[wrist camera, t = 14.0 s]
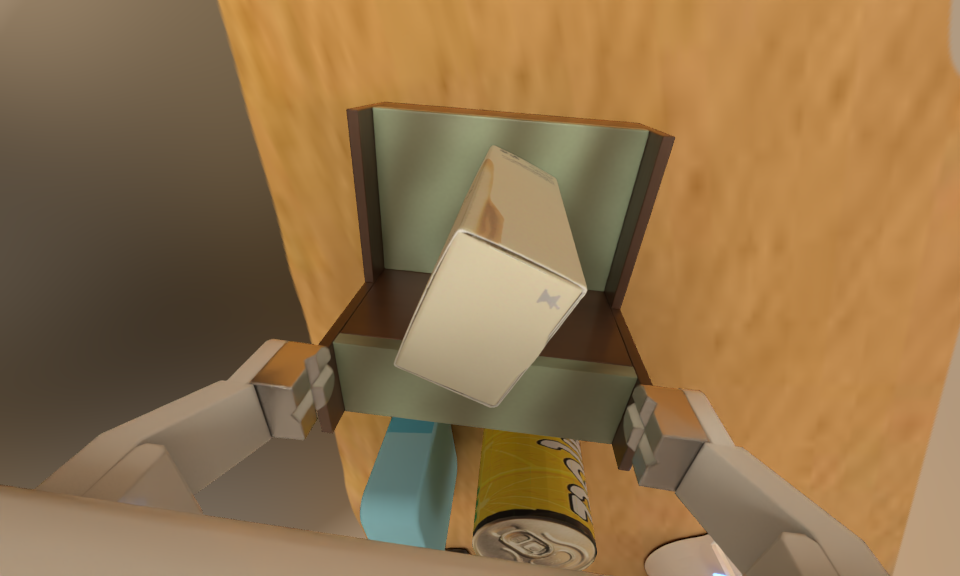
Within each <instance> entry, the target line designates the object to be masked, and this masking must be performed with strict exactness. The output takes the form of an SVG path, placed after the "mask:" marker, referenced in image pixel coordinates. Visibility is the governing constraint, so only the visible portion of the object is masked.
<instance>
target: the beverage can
mask: <svg viewBox="0 0 960 576" xmlns="http://www.w3.org/2000/svg"><path fill="white" fill-rule="evenodd" d="M472 547H473V549H474V551H475V553H476V555H477V556H483V557H490V558H497V559H503V560H510V561H517V562H523V563H530V564H537V565H544V566H550V567H557V568H564V569H570V570H577V571H582V570H584V569H586V568H587V567H588V566H589V565H590V564H592V563H593V562H594V560H595V557H596V555H597V549H596V542H595V536H594V530H593V524H592V518H591V511H590V505H589V499H588V493H587V487H586V481H585V475H584V469H583V462H582V456H581V450H580V444H579V440H574V439H566V438H558V437H550V436H542V435H534V434H526V433H518V432H510V431H502V430H494V429H486V428H484V431H483V441H482V451H481V461H480V470H479V480H478V490H477V500H476V510H475V519H474V529H473V540H472Z"/></svg>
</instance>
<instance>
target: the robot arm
mask: <svg viewBox="0 0 960 576" xmlns="http://www.w3.org/2000/svg"><path fill="white" fill-rule="evenodd" d="M330 359H331V355H330V351H329V348H327V347H326V346H321V345H314V344H307V343H300V342H293V341H283V340H277V339H271V340H268V341H266V342H265V343H264V344H263V345H262V346H261V347H260V348H259V349H258V350H257V351H256V352H255V353H254V354H253V355H252V356H251V357H250V358H249V359H248V360H247V361H246V362H245V363H244V364H243V365H242V366H241V367H240V368H239V369H238V370H237V371H236V372H235V373H234V374H233V375H232V376H231V377H230V378H229V379H228V380H227V381H222V380H220V381H218V382H216V383H214V384H211V385H209V386H207V387H205V388H202V389H200V390H198V391H196V392H193V393H191V394H189V395H187V396H185V397H182V398H180V399H178V400H176V401H173V402H171V403H169V404H167V405H164V406H162V407H160V408H158V409H156V410H153V411H151V412H149V413H147V414H144V415H142V416H140V417H138V418H136V419H133V420H131V421H129V422H127V423H124V424H122V425H120V426H118V427H116V428H113V429H111V430H109V431H106V432H104V433H102V434H100V435H99V436H97V437H96V438H95V439H94V440H93V441H91V442H90V443H89V444H88V445H87V446H85V447H84V448H83V449H82V450H81V451H79V452H78V453H77V454H76V455H75V456H73V457H72V458H71V459H70V460H69V461H67V462H66V463H65V464H64V465H63V466H61V467H60V468H59V469H58V470H57V471H55V472H54V473H53V474H52V475H51V476H49V477H48V478H47V479H46V480H45V481H43V482H42V483H41V484H40V485H39V486H37V487H36V488H35V489H27V488H20V487H13V486H7V485H0V576H611V575H604V574H597V573H590V572H584V571H577V570H570V569H564V568H557V567H550V566H544V565H537V564H530V563H523V562H517V561H510V560H503V559H497V558H490V557H483V556H477V555H470V554H463V553H457V552H450V551H443V550H437V549H430V548H423V547H417V546H410V545H403V544H396V543H390V542H383V541H376V540H369V539H363V538H356V537H349V536H342V535H335V534H329V533H322V532H315V531H309V530H302V529H295V528H288V527H281V526H275V525H268V524H261V523H255V522H248V521H241V520H235V519H228V518H221V517H215V516H208V515H203V512H202V509H201V507H200V506H199V504H198V502H197V501H196V499H195V497H194V495H195V494H197V493H198V492H199V491H201V490H202V489H203V488H205V487H206V486H208V485H209V484H210V483H212V482H213V481H214V480H216V479H217V478H218V477H220V476H221V475H223V474H224V473H225V472H227V471H228V470H229V469H231V468H232V467H234V466H235V465H236V464H238V463H239V462H240V461H241V460H243V459H244V458H246V457H247V456H248V455H250V454H251V453H253V452H254V451H255V450H257V449H258V448H259V447H261V446H262V445H263V444H265V443H266V442H268V441H269V440H270V439H271V437H279V438H288V439H298V440H305V439H306V437H307V435H308V434H309V432H310V430H311V429H312V427H313V425H314V424H315V422H316V421H317V419H318V418H317V413H316V411H317V410H319V409H320V408H322V407H324V406H325V405H326V404H327V402H328V401H329V399H330V397H331V394H332V391H333V388H334V379H335V377H334V371H333V369H332V368H331V367H330V366H329V365H328V364H327V363H328V362H329V360H330ZM632 396H633V399H634V403H633V404H631V405H630V406H628V407H627V409H626V412H625V415H624V424H623V429H624V436H625V440H626V443H627V445H628V446H629V447H630V448H631V449H632V450H633V451H634V452H635V453H634V455H633V458H632V460H631V461H632V464H633V468H634V471H635V474H636V478H637V481H638V484H639V486H644V487H650V488H656V489H663V490H669V491H675V494H676V495H677V497H678V498H679V499H680V500H681V501H682V503H683V504H684V505H685V506H686V507H687V509H688V510H689V511H690V512H691V513H692V515H693V516H694V517H695V518H696V519H697V521H698V522H699V523H700V524H701V525H702V527H703V528H704V529H705V530H706V531H707V533H708V534H707V535H705V536H700V537H695V538H689V539H684V540H680V541H676V542H673V543H670V544H667V545H665V546H662V547H661V548H659V549H657V550H656V551H654V552H653V553H652V554H651V555H650V556H649V557H648V558H647V560H646V562H645V570H646V572H647V574H648V576H889V574H888V573H887V572H886V570H885V569H884V568H883V566H882V565H881V564H880V562H879V561H878V560H877V558H876V557H875V555H874V554H873V553H872V551H871V550H870V549H869V547H868V546H867V545H866V543H865V542H864V541H863V540H862V539H860V538H859V537H858V536H856V535H855V534H854V533H853V532H851V531H850V530H849V529H847V528H846V527H845V526H844V525H842V524H841V523H840V522H838V521H837V520H836V519H834V518H833V517H832V516H831V515H829V514H828V513H827V512H825V511H824V510H823V509H822V508H820V507H819V506H818V505H816V504H815V503H814V502H812V501H811V500H810V499H809V498H807V497H806V496H805V495H803V494H802V493H801V492H800V491H798V490H797V489H796V488H794V487H793V486H792V485H790V484H789V483H788V482H787V481H785V480H784V479H783V478H781V477H780V476H779V475H777V474H776V473H775V472H774V471H772V470H771V469H770V468H768V467H767V466H766V465H765V464H763V463H762V462H761V461H759V460H758V459H757V458H755V457H754V456H753V455H752V454H750V453H749V452H748V451H746V450H745V449H744V448H743V447H737V446H735V445H734V443H733V441H732V439H731V438H730V436H729V434H728V433H727V431H726V429H725V428H724V426H723V424H722V423H721V421H720V419H719V418H718V416H717V414H716V413H715V411H714V409H713V408H712V406H711V404H710V402H709V401H708V399H707V397H706V396H705V394H704V393H702V392H701V391H699V390H689V389H680V388H679V389H677V388H668V387H660V386H651V385H642V384H638V385H637V386H636V387H635V389H634V391H633V394H632Z"/></svg>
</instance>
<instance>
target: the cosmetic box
mask: <svg viewBox="0 0 960 576" xmlns="http://www.w3.org/2000/svg"><path fill="white" fill-rule="evenodd" d="M586 292H587V285H586V282H585V278H584V275H583V272H582V268H581V264H580V261H579V258H578V254H577V251H576V247H575V243H574V240H573V236H572V232H571V229H570V226H569V222H568V219H567V215H566V211H565V208H564V204H563V201H562V197H561V194H560V190H559V186H558V183H557V179H556V178H555V177H553V176H551V175H550V174H548V173H546V172H545V171H543V170H541V169H539V168H538V167H536V166H534V165H532V164H530V163H529V162H527V161H525V160H523V159H521V158H519V157H517V156H516V155H514V154H512V153H510V152H508V151H505V150H503V149H501V148H499V147H497V146H495V145H493V146H491V147H490V149H489V151H488V153H487V155H486V156H485V158H484V160H483V162H482V164H481V166H480V168H479V170H478V172H477V174H476V176H475V178H474V180H473V182H472V184H471V186H470V189H469V191H468V193H467V195H466V197H465V199H464V202H463V204H462V206H461V209H460V211H459V213H458V215H457V218H456V220H455V222H454V224H453V227H452V229H451V231H450V234H449V236H448V238H447V240H446V243H445V245H444V247H443V249H442V252H441V254H440V256H439V258H438V261H437V263H436V265H435V267H434V270H433V272H432V274H431V276H430V278H429V281H428V283H427V285H426V287H425V290H424V292H423V294H422V296H421V299H420V301H419V303H418V305H417V308H416V310H415V312H414V314H413V317H412V319H411V321H410V324H409V326H408V329H407V331H406V333H405V336H404V338H403V340H402V343H401V346H400V348H399V351H398V353H397V355H396V358H395V360H394V366H395V367H397V368H399V369H402V370H404V371H407V372H409V373H412V374H414V375H416V376H418V377H420V378H422V379H425V380H427V381H429V382H432V383H434V384H436V385H438V386H441V387H443V388H445V389H448V390H450V391H452V392H455V393H457V394H459V395H462V396H464V397H466V398H468V399H471V400H473V401H476V402H478V403H480V404H483V405H485V406H487V407H489V408H495V407H497V406H498V405H499V404H500V403H501V402H502V400H503V399H504V398H505V397H506V395H507V394H508V393H509V392H510V390H511V389H512V388H513V387H514V385H515V384H516V383H517V381H518V380H519V379H520V378H521V376H522V375H523V374H524V373H525V371H526V370H527V369H528V368H529V367H530V365H531V364H532V363H533V362H534V361H535V360H536V358H537V357H538V356H539V354H540V353H541V351H542V350H543V348H544V347H545V346H546V344H547V343H548V341H549V340H550V339H551V338H552V336H553V335H554V334H555V333H556V331H557V330H558V329H559V328H560V326H561V325H562V324H563V322H564V321H565V319H566V318H567V317H568V316H569V314H570V313H571V312H572V311H573V309H574V308H575V307H576V305H577V304H578V303H579V301H580V300H581V299H582V298H583V297H584V296H585V294H586Z"/></svg>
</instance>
